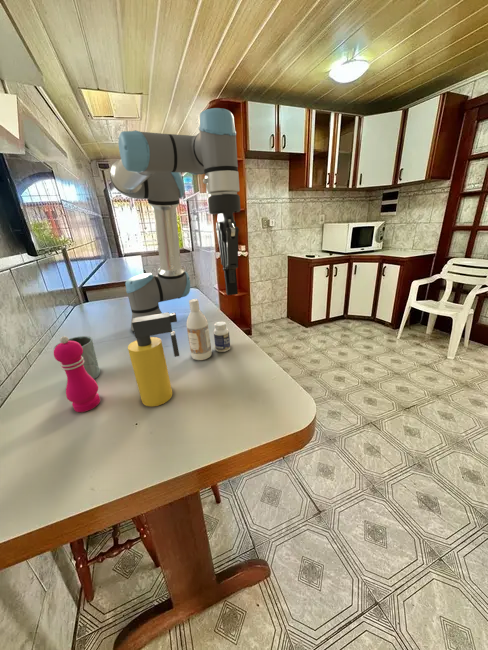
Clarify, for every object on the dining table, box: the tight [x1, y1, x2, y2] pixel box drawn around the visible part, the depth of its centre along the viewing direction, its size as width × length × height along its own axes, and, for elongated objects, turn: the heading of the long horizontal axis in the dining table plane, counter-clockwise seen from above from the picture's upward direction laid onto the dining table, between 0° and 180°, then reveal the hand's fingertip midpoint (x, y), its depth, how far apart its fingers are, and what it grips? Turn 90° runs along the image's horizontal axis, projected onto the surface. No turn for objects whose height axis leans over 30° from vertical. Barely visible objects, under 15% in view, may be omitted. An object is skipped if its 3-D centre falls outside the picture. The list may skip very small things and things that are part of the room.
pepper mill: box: [53, 335, 101, 413], centre depth 67 cm, size 7×7×20 cm
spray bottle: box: [127, 311, 178, 407], centre depth 68 cm, size 8×13×22 cm, turn 107°
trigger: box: [169, 330, 180, 358], centre depth 68 cm, size 3×1×6 cm, turn 17°
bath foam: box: [186, 298, 213, 361], centre depth 88 cm, size 7×7×20 cm
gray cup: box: [53, 335, 101, 380], centre depth 82 cm, size 10×10×12 cm
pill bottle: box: [213, 321, 231, 353], centre depth 94 cm, size 5×5×10 cm
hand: (232, 293), depth 70 cm, fingers closed
